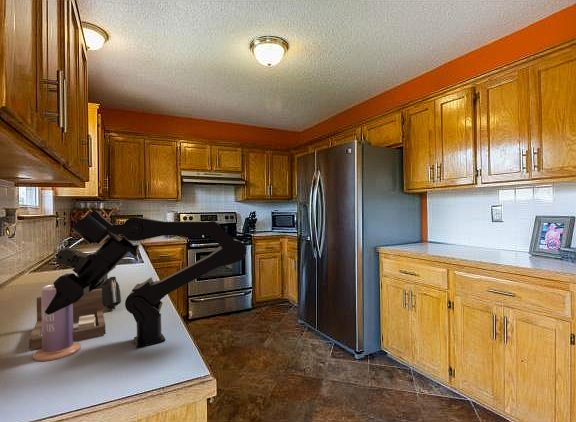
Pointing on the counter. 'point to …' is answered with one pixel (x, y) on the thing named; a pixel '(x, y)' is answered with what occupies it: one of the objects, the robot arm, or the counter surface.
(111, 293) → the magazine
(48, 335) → the beverage can
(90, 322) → the offcut stack
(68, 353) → the peach round disc
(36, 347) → the walnut rack
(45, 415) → the counter surface
